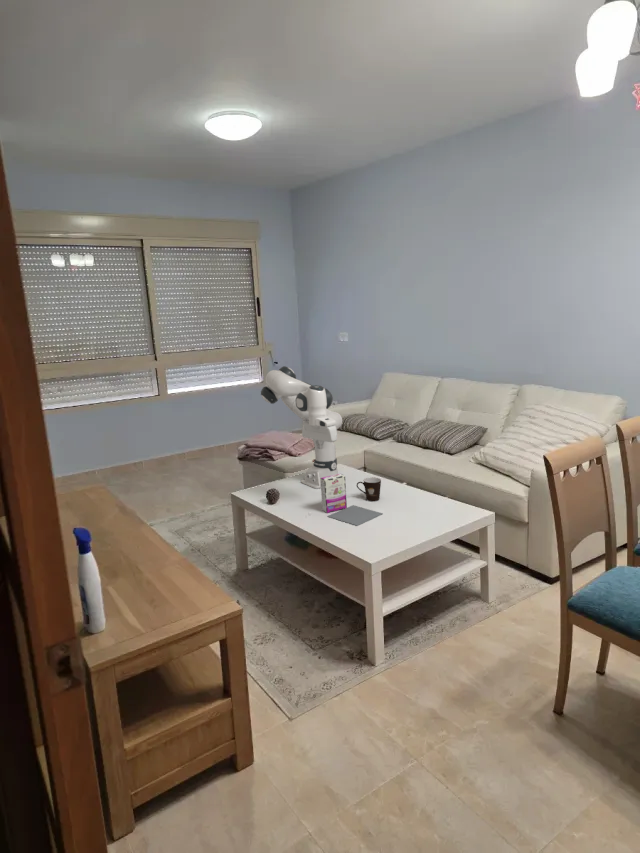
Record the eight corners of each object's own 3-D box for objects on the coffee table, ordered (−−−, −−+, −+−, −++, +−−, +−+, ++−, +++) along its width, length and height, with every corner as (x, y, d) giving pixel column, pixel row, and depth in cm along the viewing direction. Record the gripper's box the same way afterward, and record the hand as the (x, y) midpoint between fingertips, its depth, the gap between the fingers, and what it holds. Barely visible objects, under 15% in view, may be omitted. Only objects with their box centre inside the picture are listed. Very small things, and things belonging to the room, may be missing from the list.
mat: (327, 516, 261) (327, 516, 261) (353, 505, 273) (353, 505, 273) (357, 526, 248) (356, 525, 248) (382, 514, 261) (382, 513, 261)
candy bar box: (341, 505, 275) (340, 473, 271) (347, 508, 270) (345, 475, 267) (321, 510, 270) (319, 477, 266) (326, 513, 265) (324, 479, 262)
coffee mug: (385, 498, 281) (384, 479, 279) (374, 503, 275) (373, 483, 273) (366, 494, 289) (366, 475, 287) (355, 498, 283) (355, 479, 281)
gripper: (298, 419, 271) (299, 447, 274) (329, 423, 257) (330, 453, 260) (307, 416, 276) (309, 444, 279) (338, 421, 262) (339, 450, 265)
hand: (319, 448), depth 269 cm, fingers closed
